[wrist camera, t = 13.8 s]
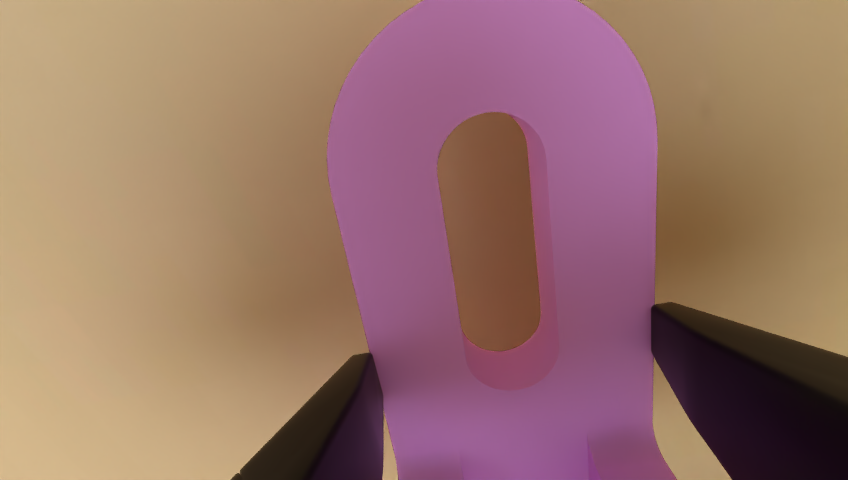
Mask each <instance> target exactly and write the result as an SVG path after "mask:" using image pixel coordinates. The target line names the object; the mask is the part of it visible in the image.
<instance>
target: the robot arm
mask: <svg viewBox="0 0 848 480" xmlns="http://www.w3.org/2000/svg"><path fill="white" fill-rule="evenodd" d="M651 352H652V354H653V356H654V358H655V360H656V361H657V363H658V365H659V367H660V368H661V370H662V372H663V374H664V376H665V377H666V379H667V381H668V383H669V384H670V386H671V388H672V390H673V392H674V393H675V395H676V397H677V399H678V400H679V402H680V404H681V406H682V407H683V409H684V411H685V413H686V414H687V416H688V417H689V419H690V421H691V422H692V424H693V425H694V426H695V428H696V429H697V431H698V432H699V434H700V435H701V436H702V438H703V439H704V441H705V442H706V443H707V445H708V446H709V448H710V449H711V450H712V452H713V453H714V455H715V456H716V457H717V459H718V460H719V462H720V463H721V464H722V466H723V467H724V469H725V470H726V471H727V473H728V474H729V476H730V477H731V478H732V480H848V357H846V356H843V355H840V354H836V353H833V352H830V351H827V350H824V349H820V348H817V347H814V346H811V345H808V344H804V343H801V342H798V341H795V340H792V339H788V338H785V337H782V336H779V335H776V334H772V333H769V332H766V331H763V330H760V329H756V328H753V327H750V326H747V325H744V324H740V323H737V322H734V321H731V320H728V319H724V318H721V317H718V316H715V315H712V314H708V313H705V312H702V311H699V310H696V309H692V308H689V307H686V306H683V305H680V304H676V303H673V302H667V303H661V304H655V305H653V306H652V307H651ZM382 475H383V392H382V388H381V385H380V381H379V377H378V374H377V370H376V366H375V362H374V359H373V355H372V354H371V353H363V354H357V355H353V356H352V357H350V358H349V359H348V361H347V362H346V363H345V364H344V365H343V366H342V367H341V368H340V369H339V370H338V371H337V372H336V373H335V374H334V375H333V376H332V377H331V378H330V379H329V380H328V381H327V382H326V383H325V384H324V385H323V386H322V387H321V388H320V389H319V390H318V391H317V392H316V393H315V394H314V395H313V396H312V397H311V398H310V399H309V400H308V401H307V402H306V403H305V404H304V405H303V406H302V407H301V408H300V410H299V411H298V412H297V413H296V414H295V415H294V416H293V417H292V418H291V419H290V420H289V421H288V422H287V423H286V424H285V425H284V426H283V427H282V428H281V429H280V430H279V431H278V432H277V433H276V434H275V435H274V436H273V437H272V438H271V439H270V440H269V441H268V442H267V443H266V444H265V445H264V446H263V447H262V448H261V449H260V450H259V451H258V452H257V453H256V454H255V455H254V456H253V457H252V458H251V459H250V461H249V462H248V463H247V464H246V465H245V466H244V467H243V468H242V469H241V470H240V473H237V474H236V475H235V476H234V477H233V478H232V479H231V480H382Z"/></svg>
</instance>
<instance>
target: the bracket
mask: <svg viewBox="0 0 848 480" xmlns="http://www.w3.org/2000/svg"><path fill="white" fill-rule="evenodd" d="M487 112H503V113H507V114H508V115H510V116H511V117H512V118H513V119H514V120H515V121H516V122H517V123H518V124H519V126H520V127H521V129H522V131H523V133H524V135H525V138H526V142H527V150H528V162H529V174H530V186H531V199H532V211H533V223H534V235H535V247H536V259H537V271H538V283H539V295H540V307H541V318H540V322H539V325H538V327H537V329H536V331H535V333H534V334H533V335H532V336H531V337H530V338H529V339H528V340H527V341H526V342H525V343H523V344H522V345H520V346H518V347H516V348H513V349H510V350H506V351H489V350H485V349H482V348H480V347H478V346H476V345H474V344H473V343H472V342H470V341H469V340H468V339H467V337H466V336H465V335H464V333H463V331H462V329H461V323H460V317H459V311H458V304H457V298H456V291H455V285H454V279H453V272H452V266H451V259H450V253H449V246H448V240H447V234H446V227H445V221H444V214H443V208H442V202H441V195H440V189H439V182H438V175H437V164H438V158H439V153H440V151H441V148H442V146H443V144H444V142H445V140H446V138H447V137H448V136H449V134H450V133H451V132H452V131H453V130H454V129H455V128H456V127H457V126H458V125H459V124H461V123H462V122H463V121H465V120H467V119H468V118H470V117H473V116H475V115H478V114H482V113H487ZM657 142H658V141H657V121H656V114H655V107H654V103H653V99H652V95H651V92H650V88H649V85H648V83H647V80H646V78H645V75H644V73H643V70H642V68H641V66H640V65H639V63H638V61H637V59H636V57H635V55H634V54H633V52H632V51H631V49H630V48H629V47H628V45H627V44H626V42H625V41H624V40H623V38H622V37H621V36H620V35H619V34H618V33H617V32H616V31H615V30H614V29H613V27H612V26H611V25H610V24H609V23H607V22H606V21H605V20H604V19H603V18H602V17H600V16H599V15H598V14H597V13H596V12H594V11H593V10H591V9H590V8H588V7H586V6H585V5H583V4H582V3H580V2H579V1H577V0H424V1H422V2H420V3H418V4H417V5H415V6H413V7H412V8H410V9H408V10H407V11H405V12H404V13H402V14H401V15H400V16H398V17H397V18H396V19H395V20H393V21H392V22H391V23H389V24H388V25H387V26H386V27H385V28H384V29H383V30H382V31H381V32H380V33H379V34H378V35H377V36H376V37H375V38H374V39H373V40H372V41H371V42H370V44H369V45H368V46H367V47H366V48H365V50H364V51H363V52H362V53H361V55H360V56H359V58H358V59H357V61H356V62H355V64H354V65H353V67H352V68H351V70H350V72H349V74H348V76H347V78H346V80H345V82H344V84H343V86H342V88H341V90H340V93H339V96H338V98H337V101H336V104H335V106H334V110H333V114H332V118H331V122H330V128H329V135H328V142H327V168H328V179H329V185H330V190H331V195H332V200H333V204H334V208H335V212H336V216H337V220H338V224H339V228H340V232H341V236H342V241H343V245H344V249H345V253H346V257H347V261H348V265H349V269H350V273H351V277H352V282H353V286H354V290H355V294H356V298H357V302H358V306H359V310H360V314H361V318H362V323H363V327H364V331H365V335H366V339H367V343H368V347H369V351H370V353H371V354H372V355H373V359H374V362H375V366H376V370H377V374H378V377H379V381H380V385H381V388H382V392H383V409H384V413H385V417H386V421H387V425H388V429H389V433H390V437H391V441H392V446H393V450H394V454H395V458H396V463H397V470H398V480H677V479H676V477H675V476H674V474H673V473H672V471H671V470H670V468H669V467H668V465H667V463H666V462H665V460H664V458H663V457H662V455H661V453H660V450H659V448H658V445H657V443H656V439H655V436H654V431H653V424H652V417H653V362H654V356H653V354H652V352H651V307H652V306H653V305H655V252H656V197H657Z"/></svg>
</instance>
